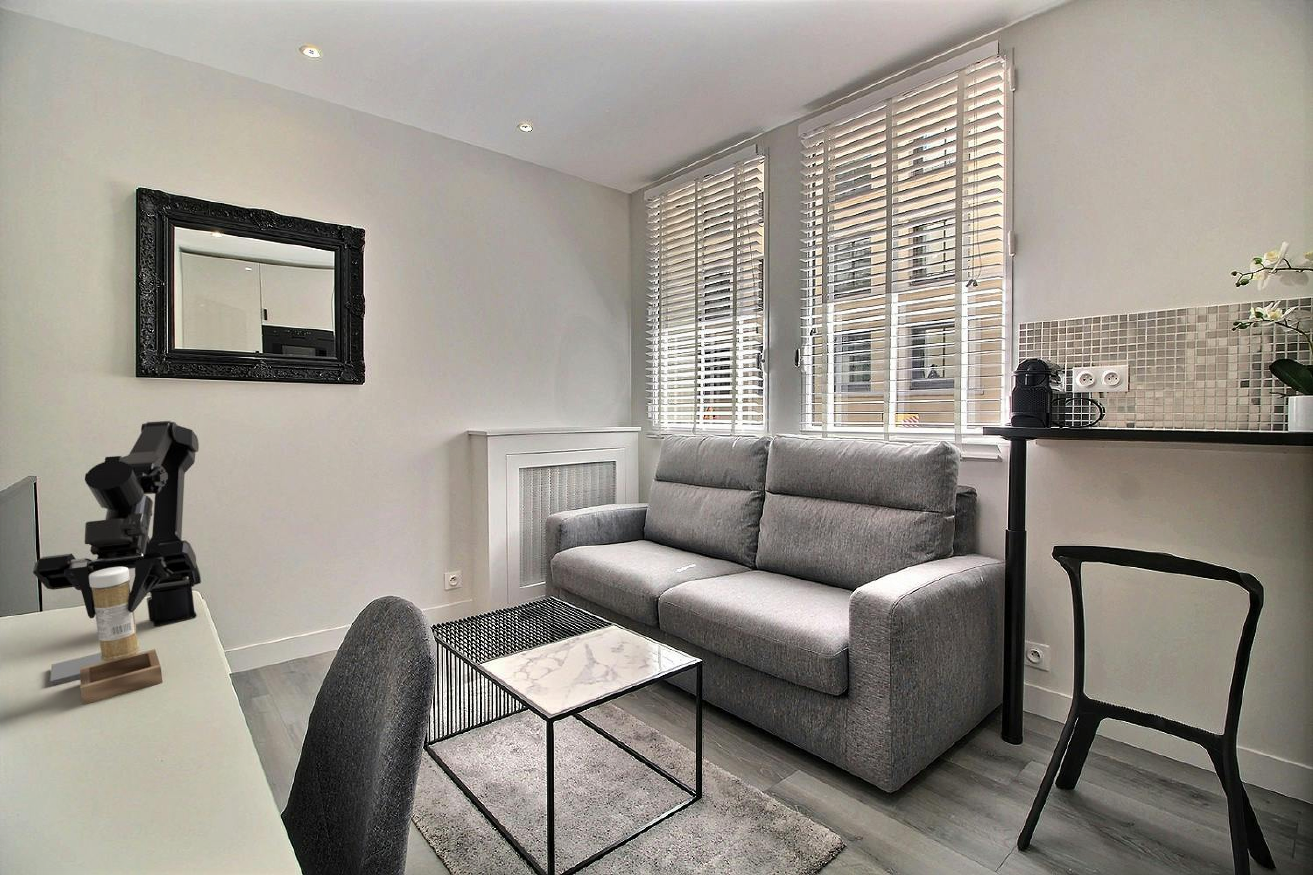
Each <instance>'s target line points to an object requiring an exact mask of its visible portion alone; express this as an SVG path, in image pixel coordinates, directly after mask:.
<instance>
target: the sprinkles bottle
mask: <svg viewBox="0 0 1313 875" xmlns="http://www.w3.org/2000/svg"><path fill="white" fill-rule="evenodd" d="M130 580H131V575H130V569H128V568H127V567H112V568H106V569H102V570H98V571H95V572H93V573H91V574H90V575H89V582H90V587H92V588H91V589H92V591H93V598H94V609H95V622H96V627H97V628H96V629H97V636H98V640H99V646H100V653H101V654H102V655H101V659H102V660H103V661H116V660H122V659H125V658H128V657H130V656H132V655H134V654H137V653H139V651H140V646H139V645H138V644H139V643H138V637H137V625H136V616H135V611H134V612H131V613H130V612H129V611H128V603H129V597H130V593H131V589H130V588H131V587H130Z"/></svg>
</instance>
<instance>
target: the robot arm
mask: <svg viewBox="0 0 1313 875" xmlns="http://www.w3.org/2000/svg"><path fill="white" fill-rule="evenodd" d="M140 429H141V430H140V431H141V432H140V434H139V436H138V438H137V440H136V442H135V443H134V445H133V446H132V449H130V452H129V453H128V454H127V455H125V456H122V455H114V456H105V458H104V462H100V463H98V464H95V465H94V466H93V467H92V468H90V469H89V470H88V472H86V473H85V476H84V481H85V484H86V486H87V487H88V488H89V490H90V491H91V494H92V495H93V497H94V499H95V500H96V501H97V503H98V504H99V506H100V507H101V508H104V509H106V514H105V518H104V519H100V520H93V521H92V520H90V521H87V522H85V524H84V525H85V526H84V527H85V530H84V544H85V545H90V546H91V547H90V550H89V551H90V553H91V555H93V556H97V558H96V559H90V558H87V557H86V558H84V557H83V558H76V557H75V556H74V554H73V553H65V554H55V555H48V556H42V557H40V558H39V559H37V560H36V561H35V563H34V567H33V571H32V573H33V574H34V576H35V577H36V578H37V579H38V580H39V581H40V583H42V585H43V586H44V587H45V588H46V589H48V590H53V591H54V590H59V589H60V590H62V589H69V588H74V589H75V590H77V591H80V592H81V596H82V599H83V603H84V606H85V610H86V613H87V616H88V617H89V619H94V618H95V617H96V615H95V609H94V598H93V591H92V589H91V588H92V587H90V582H89V575H90V574H91V573H93V572H95V571H98V570H102V569H106V568H112V567H127V568H128V569H129V570H132V569H133V570H134V578H133V582H132V587H131V589H130V597H129V603H128V611H129V612H130V613H131V612H134V613H135V610H136V609H138V606H140V604H141V603H142V602H143V601H144V599H145V598H146V596H147V595H148V594H149V597H147V598H146V605H147V606H146V608H147V614H148V620H149V622H151V623H153V627H159V626H163V625H167V624H172V623H175V622H181V621H184V620H188V619H193V618H196V617H197V615H198V614H197V613H196V611H195V605H194V604H195V603H194V594H193V587H195V586H196V585H199V584H201V583H202V579H201V578H202V577H201V572H200V568H199V567H198V564H197V556H196V553H195V552H194V549H193V547H192V546H191V544H190V543H189V541H187V540H182V535H183V515H184V514H183V512H184V511H183V510H184V494H185V492H184V491H185V474H186V472H188V470H190V468H191V467H192V466H193V465H194V464H195V461H196V453H198V452H199V450H200V449H199V447H200V446H199V444H200V443H199V439H198V436H197V435H196V434H195V432H194V430H193V429H191V428H188V427H184V426H180V425H178V424H177V423H176V422H175V421H171V420H165V421H164V420H163V421H159V420H158V421H147V422H146V423H142V424H141V428H140ZM148 495H154V502H153V500H152V498H151V497H149V496H148ZM153 504H154V505H153ZM152 516H153V520H152V535H151V537H150V536H149V530H150V524H151V518H152Z"/></svg>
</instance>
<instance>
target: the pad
mask: <svg viewBox="0 0 1313 875" xmlns="http://www.w3.org/2000/svg"><path fill="white" fill-rule="evenodd" d="M101 655H102V654H101V652H98V653H94V654H90V655H89V654H88V655H84V656H81V657H77V658H73V659H68V660H64V661H61V662H56V663H53V664H51V665H50V677H49V678H50V681H49V682H50V686H51V687H53V686H57V685H60V684H64V683H65V684H66V683H68V682H72V681H76V680H79V679H80V668H81V667H85V666H89V665H93V664H97V663H101V662H105V661H103V660H102V659H101Z"/></svg>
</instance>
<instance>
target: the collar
mask: <svg viewBox="0 0 1313 875" xmlns="http://www.w3.org/2000/svg"><path fill="white" fill-rule="evenodd" d="M79 681H80V693H81V701H82V705H86V704H91V703H94V702H97V701H102V700H105V699H108V698H111V697H116V696H119V695H122V694H126V693H130V692H134V691H137V690H141V689H143V688H148V687H150V686H151V687H152V686H154V685H158V684H162V683H163V682H164V681H163V674H162V667H161V663H160V661H159V657H158V654H157V651H156V649H155V648H154V649H149V650H146V651H142V652H137V653H136V654H134V655H132V656H130V657H128V658H125V659H122V660H116V661H105V662H101V663H97V664H93V665H89V666H85V667H81V668H80V680H79Z"/></svg>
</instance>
